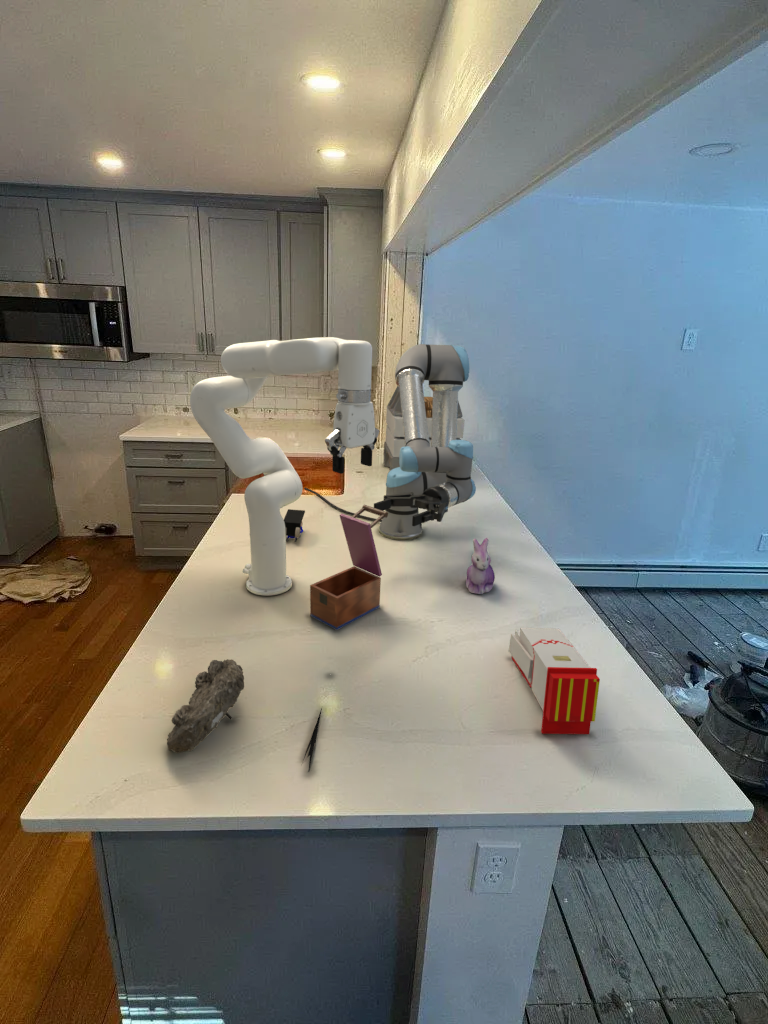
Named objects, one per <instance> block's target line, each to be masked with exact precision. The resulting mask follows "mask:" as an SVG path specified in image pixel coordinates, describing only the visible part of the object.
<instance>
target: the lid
mask: <svg viewBox="0 0 768 1024" xmlns="http://www.w3.org/2000/svg"><path fill="white" fill-rule="evenodd" d="M364 512H368V513H370V514H372V515H373V514H374V515H376V516H378V517H377V518H375V519H376V520H375V521H372V522H371V523H370V522H367V521H365V520H362V519H359V518H358V517H357V516H359V515H362V513H364ZM384 517H385V518H387V517H388V512H385V510H384V511H382V510H379V509H376V508H374V506H371V505H367V504H363V505H362V507H361V508H360V509H359V510H358V511H357V512H355V514H354V515H349V514H346V513H340V514H339V518H340V522H341V526H342V529H343V533H344V536H345V537H344V538H345V541H346V544H347V549H348V551H349V556H350V559H351V563H352V566H355V567H357V568H359V569H362V570H364V571H366V572H369V573H371V574H373V575H376V576H378V577H380V578H381V577H382V575H383V573H382V569H381V565H380V560H379V556H378V552H377V547H376V544H375V539H374V535H373V530H372V528H374V527H375V526H376V525H377V524H379V523H380V522H379V521H381V520H382V519H383V518H384Z"/></svg>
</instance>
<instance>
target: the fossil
mask: <svg viewBox="0 0 768 1024" xmlns="http://www.w3.org/2000/svg"><path fill="white" fill-rule="evenodd" d="M243 670H244V669H243V667H242V665H240V664H237V662H236V661H235V660H234V659H232V658H231V659H227V658H226V659H224V660H223V661H222V660H217V659H212V660H211V661H210V663H209V665H208V666H207V671H201V672H199V673H198V674H197V675H196V676H195V680H194V684H195V685H194V687H195V689H194V690H193V693H192V694H191V697H190V698H189V700H188V704H184V705H182V706H181V707H180V709H177V710H176V711H175V713H174V715H173V716H172V718H171V723H172V724H173V727H172V730H171V731H170V732H168V734H167V738H166V741H167V742H166V745H167V749H168V750H169V751H173V752H174V753H176V754H178V753H182V752H188V751H189V752H192V751H193V750H195V748H196V747H197V746H199V744H200V743H201V742H203V741H204V740H205V739H206V738H207V737H208V736H209V735H210V734H211V733H212V732H214V730H215V729H217V727H218V726H219V724H220V722H221V721H222V720H223V719H224V718H225V716H226V717H227V719H229V720H233V717H232V715H230V714H229V710H230V709H231V708H234V706H235V704H236V703H237V702H238V699H239V697H240V695H241V693H242V691H243V690H245V689H244V688H245V675H244V671H243Z"/></svg>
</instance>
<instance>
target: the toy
mask: <svg viewBox="0 0 768 1024" xmlns="http://www.w3.org/2000/svg"><path fill="white" fill-rule="evenodd" d="M508 653H509V654H510V656H511V660H512V661H513V664H515V666H516V667H517V669H518V670H519V672H520V673H521V675H522V677H523V678H524V680H525V681H526V683H527V684H528V686H529V688H530V689H531V691H532V694H533V695H534V697H535V699H536V700H537V702H538V704H539V706H540V708H541V710H542V720H541V730H540V733H541V735H547V734H548V735H590V731H591V723H592V722H593V723H595V722H596V713H597V706H598V700H599V699H598V698H599V697H598V696H599V689H600V682H601V681H600V680H601V679H600V677H599V675H598V668H597V667H591V666H590V665H589V664H588V663H587V661H586V660H585V659H584V657H583V656H582V655H581V654H580V652H579V651H578V649H576V647H574V645H573V644H572V643H571V642H570V640H569V639H568V637H566V636H565V634H564V633H563V631H561V629H560V628H553V627H552V628H551V627H550V628H549V627H547V628H546V627H520V628H519V629H515V631H514V633H510V639H509V646H508Z"/></svg>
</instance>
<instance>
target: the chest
mask: <svg viewBox="0 0 768 1024" xmlns="http://www.w3.org/2000/svg"><path fill="white" fill-rule="evenodd" d="M381 583H382V578H381V576H380V577H379V576H377V575H375V574H372V573H370V572H368V571H365V570H363V569H361V568H358V567H356V566H354V565H352V567H349V568H347V569H344V570H342V571H340V572H337V573H335V574H333V575H330V576H328V577H326V578H323V579H321V580H319V581H317V582H314V583H311V584H310V585H309V593H310V594H309V597H310V598H309V612H310V613H309V616H310V617H312V618H314V619H315V620H317V621H319V622H321V623H323V624H325V625H327V626H328V627H331V628H332V629H334V630H336V631H338V630H340V629H341V628H343V627H345V626H347V625H349V624H351V623H353V622H355V621H357V620H358V619H360V618H362V617H364V616H366V615H369V614H370V613H372V612H373V611H376V610H378V609H379V608H380V607H381V604H380V603H381V585H382V584H381Z"/></svg>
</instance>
